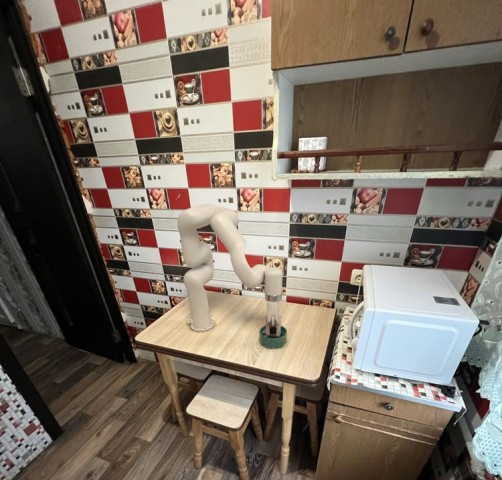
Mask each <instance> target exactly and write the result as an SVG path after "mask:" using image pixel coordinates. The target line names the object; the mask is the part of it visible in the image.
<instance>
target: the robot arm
mask: <svg viewBox="0 0 502 480" xmlns="http://www.w3.org/2000/svg"><path fill="white" fill-rule="evenodd" d="M176 222H177V224H176V225H177V229H178V233H179V238H180V244H181V252H182V259H183V262H184V265H186V267H188V268H191V269H189V270H187V272H185V273H184V275H183V279H182V280H183V284H184V286H185V289H186V293H187V297H188V302H189V307H190V313H191V317H185V318H184V321H185V323H186V324H190V329H191V330H193V331H196V332H206V331H209V330H211V329H213V327H214V326H215V322H214V320H213V319H212V318H211V313H210V305H209V297H208V293H207V291H206V289H205V287H204V286H205V285H206V284H207V283H209V282H210V281H211V280H213V278H214V277H215V268H214V254H213V251H212V248H211V246H210V245H209V244H208V243H207V242H205V241H201V238H200V234H199V232H198V230H199V229H201V228H203V227H207V226H210V227H211V229H212V231H213V232H214V233H215V235H216V236H217V238H218V239H219V241H220V242H221V243H222V245H223V246H224V247H225V249H226V250H227V251H228V253H229V257H230V262H231V266H232V269H233V271H234V274H235V275H236V276H237V278H238V279H239V280H240V282H241V283H242V284H243V286H244V287H246V288H248V289H256V288H258V287H259V286H260V285H261V284H262V283H264V301H266V315H267V322H270V334H277V326H276V322H278V316H279V311H280V302H282V300H283V273H284V272H283V270H282V269H281V268H280V267H275V266H272V267H271V266H268V265H265V264H261V263H259V264H255V265H253V266H252V267H251V266H250V265H249V263H248V261H247V258H246V247H247V241H246V239H245V237H244V236H243V234H241V232H240V230H239V229H238V228H237V227H239V223H240V218H239V215H238V213H237V212H236V211H234V210H233V209H230V208H228V207H224V206H220V205H215V204H211V203H204V204H199V205H196V206H192V207H189V208H186V209H184V210H183V211H181V212H180V213H179V215H178V217H177V221H176ZM197 229H198V230H197ZM271 320H272V321H271ZM274 320H275V321H274ZM271 322H272V324H271ZM274 322H275V324H274Z"/></svg>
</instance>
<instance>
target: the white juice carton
mask: <svg viewBox="0 0 502 480" xmlns="http://www.w3.org/2000/svg"><path fill="white" fill-rule="evenodd" d="M271 321H272V320H271ZM274 321H275V320H274ZM271 324H272V322H271ZM274 324H275V322H274ZM265 325H266V336H277V337H280V334H281V326H282V316H281V315H280V316H279V315H278V322H276V326H277V334H270V322H267V314H266V315H265Z"/></svg>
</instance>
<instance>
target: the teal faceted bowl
mask: <svg viewBox="0 0 502 480" xmlns="http://www.w3.org/2000/svg"><path fill="white" fill-rule="evenodd" d="M258 333H259V335H258V337H259V339H258V340H259V343H260V345H261V346H262V347H265V348H267V349H280V348H283V347H284V346H285V345H286V344H287V341H288V339H287V337H288V330H287V328H286V327H285V326H284V325H281V334H280V337H277V336H266V324H265V325H263V326H261V327H260V328H259V332H258Z"/></svg>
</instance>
